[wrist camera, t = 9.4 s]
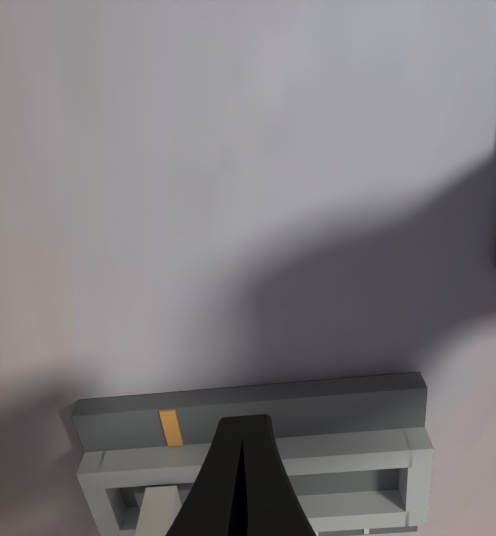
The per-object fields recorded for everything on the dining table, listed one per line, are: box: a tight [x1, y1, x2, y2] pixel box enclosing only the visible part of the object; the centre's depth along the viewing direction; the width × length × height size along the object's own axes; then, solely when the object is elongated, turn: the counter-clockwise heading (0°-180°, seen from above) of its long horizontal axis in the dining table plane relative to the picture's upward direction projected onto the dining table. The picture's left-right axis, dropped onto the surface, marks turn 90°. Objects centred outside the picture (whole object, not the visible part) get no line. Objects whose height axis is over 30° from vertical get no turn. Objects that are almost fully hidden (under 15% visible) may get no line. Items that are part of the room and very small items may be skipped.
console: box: [71, 372, 434, 536], centre depth 26 cm, size 18×11×3 cm, turn 96°
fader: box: [134, 482, 194, 536], centre depth 24 cm, size 3×4×6 cm
